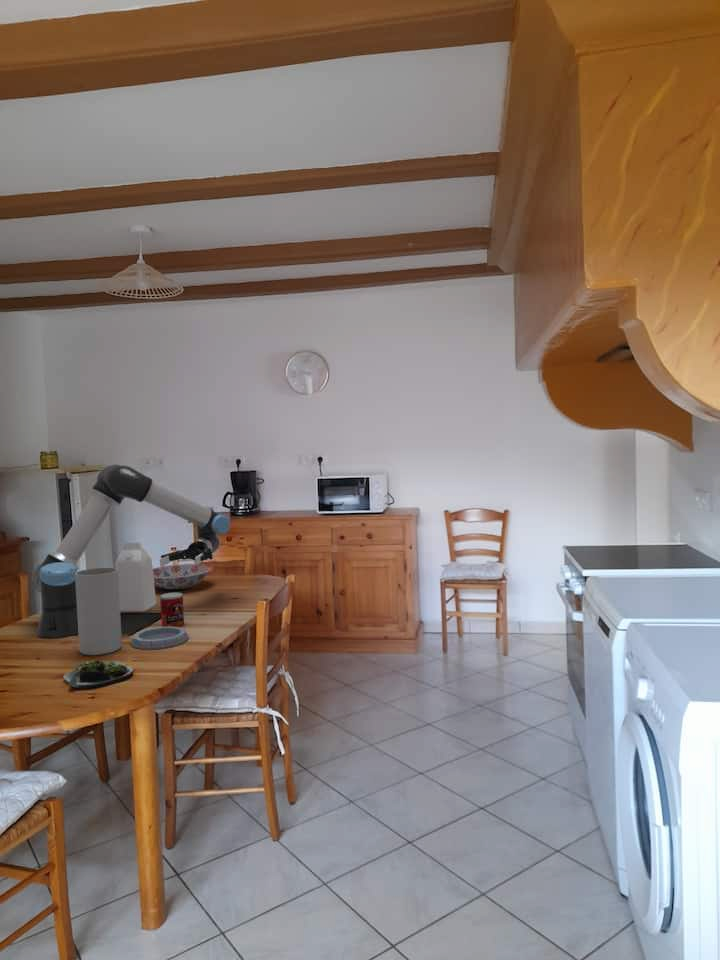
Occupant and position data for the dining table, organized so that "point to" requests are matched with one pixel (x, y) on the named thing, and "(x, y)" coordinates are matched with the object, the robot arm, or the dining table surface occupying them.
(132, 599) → the milk
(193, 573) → the ceramic bowl
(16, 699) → the dining table surface
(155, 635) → the round tray
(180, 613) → the canned food
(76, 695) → the dining table surface
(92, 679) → the salad plate
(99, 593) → the cylinder vase
